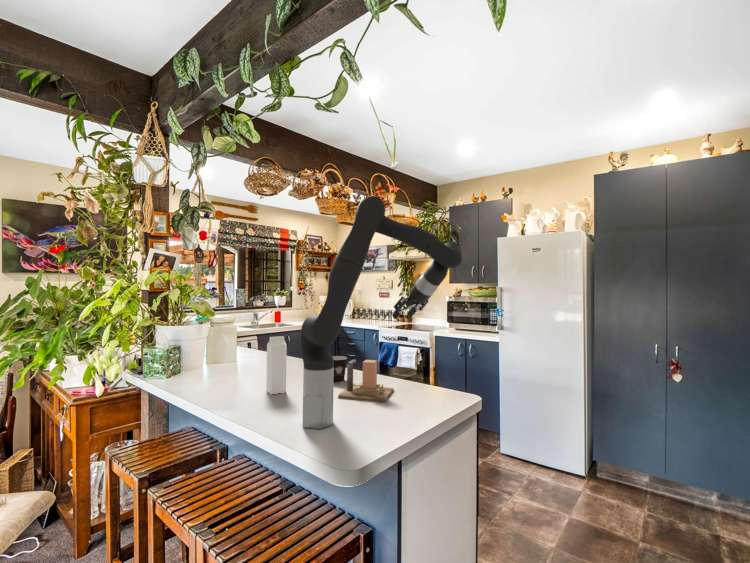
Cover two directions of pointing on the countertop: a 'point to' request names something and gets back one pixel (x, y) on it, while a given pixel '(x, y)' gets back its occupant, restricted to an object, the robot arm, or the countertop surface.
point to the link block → (369, 374)
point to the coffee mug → (339, 368)
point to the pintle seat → (363, 394)
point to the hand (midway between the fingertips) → (401, 316)
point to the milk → (276, 365)
